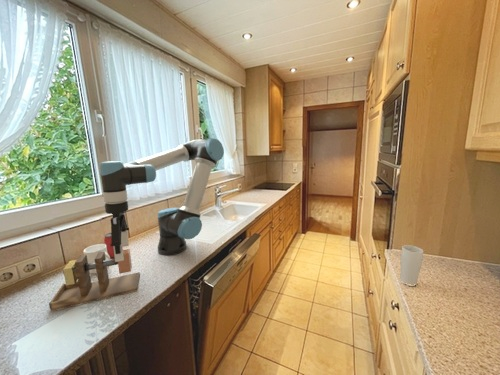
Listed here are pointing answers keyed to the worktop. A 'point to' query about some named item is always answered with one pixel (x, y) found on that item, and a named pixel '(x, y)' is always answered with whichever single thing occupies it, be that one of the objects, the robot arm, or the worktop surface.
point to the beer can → (109, 248)
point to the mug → (95, 254)
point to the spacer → (70, 273)
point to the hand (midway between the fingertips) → (122, 252)
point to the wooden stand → (93, 285)
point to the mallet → (114, 263)
